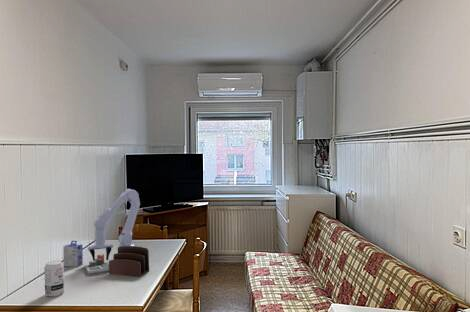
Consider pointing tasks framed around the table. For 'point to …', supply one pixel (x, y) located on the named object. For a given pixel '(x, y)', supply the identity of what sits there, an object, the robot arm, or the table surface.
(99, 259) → the block
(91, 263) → the block
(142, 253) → the letter holder
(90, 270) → the breaker panel
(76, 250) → the ink cartridge box
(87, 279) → the table surface
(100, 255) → the cap
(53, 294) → the supplement can
